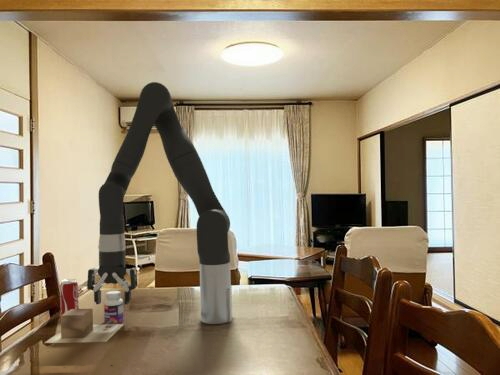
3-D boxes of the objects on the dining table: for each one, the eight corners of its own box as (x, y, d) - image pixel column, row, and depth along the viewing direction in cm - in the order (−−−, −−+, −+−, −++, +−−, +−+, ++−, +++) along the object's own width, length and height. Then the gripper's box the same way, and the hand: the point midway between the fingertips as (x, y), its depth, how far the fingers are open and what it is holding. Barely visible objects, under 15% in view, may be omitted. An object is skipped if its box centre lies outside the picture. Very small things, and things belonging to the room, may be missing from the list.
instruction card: (120, 324, 118) (120, 323, 118) (111, 333, 111) (111, 331, 111) (102, 325, 119) (102, 324, 119) (92, 333, 112) (93, 332, 112)
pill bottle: (100, 327, 120) (99, 294, 120) (111, 322, 125) (110, 290, 125) (117, 328, 119) (116, 294, 119) (127, 323, 124) (126, 290, 124)
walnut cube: (93, 330, 114) (92, 308, 114) (83, 338, 108) (83, 315, 108) (71, 330, 114) (71, 309, 114) (61, 338, 108) (60, 315, 108)
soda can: (72, 321, 127) (71, 282, 127) (57, 320, 128) (56, 282, 129) (82, 316, 132) (81, 278, 133) (67, 315, 133) (66, 278, 134)
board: (124, 328, 119) (124, 324, 119) (106, 346, 105) (106, 341, 105) (69, 329, 119) (69, 325, 119) (44, 347, 105) (43, 342, 105)
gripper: (139, 247, 126) (140, 300, 126) (93, 247, 127) (94, 300, 126) (131, 250, 119) (132, 307, 118) (83, 250, 119) (83, 307, 119)
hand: (112, 303), depth 122 cm, fingers open, 8 cm apart
